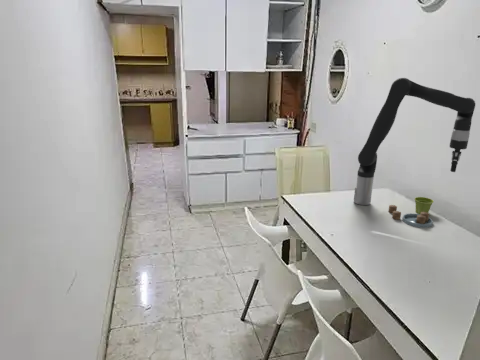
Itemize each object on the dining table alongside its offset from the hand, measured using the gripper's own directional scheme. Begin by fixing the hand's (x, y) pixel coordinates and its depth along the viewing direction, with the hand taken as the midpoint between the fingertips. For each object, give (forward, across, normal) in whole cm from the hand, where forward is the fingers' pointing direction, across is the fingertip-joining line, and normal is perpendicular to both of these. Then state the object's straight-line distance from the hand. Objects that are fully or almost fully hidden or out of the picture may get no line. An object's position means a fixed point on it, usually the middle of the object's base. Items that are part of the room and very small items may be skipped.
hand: (453, 169), depth 178 cm
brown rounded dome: (+28, +15, -21) cm, 38 cm away
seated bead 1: (+27, +17, -9) cm, 33 cm away
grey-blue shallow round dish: (+28, +14, -11) cm, 33 cm away
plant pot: (+28, -1, -11) cm, 30 cm away
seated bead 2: (+27, +11, -8) cm, 30 cm away
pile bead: (+28, +7, -25) cm, 38 cm away
